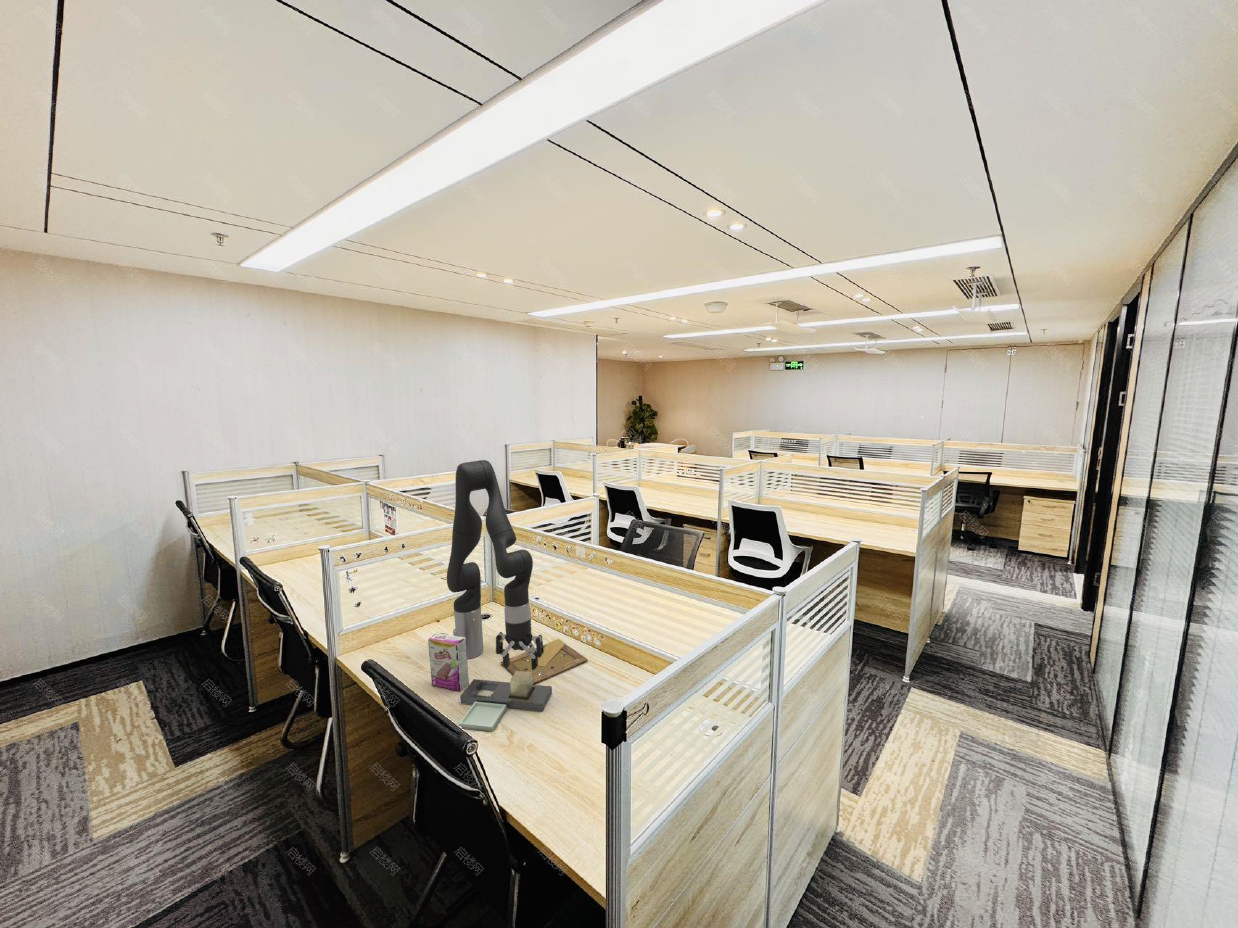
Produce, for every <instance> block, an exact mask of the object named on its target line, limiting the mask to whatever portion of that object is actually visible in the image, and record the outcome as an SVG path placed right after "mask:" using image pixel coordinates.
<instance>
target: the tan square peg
mask: <svg viewBox="0 0 1238 928" xmlns="http://www.w3.org/2000/svg"><path fill="white" fill-rule="evenodd" d="M509 682H510V687H511V698H514V699H524V700H528V699H529V698H530V696H531V694H532V693H533V686H532V672H524V671H516V672H515V674H514V675H512V676H511V678H510V679H509Z"/></svg>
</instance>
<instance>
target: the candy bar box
mask: <svg viewBox="0 0 1238 928" xmlns="http://www.w3.org/2000/svg"><path fill="white" fill-rule="evenodd" d="M427 642H428V644H427V645H428V654H429V663H430V665H429V666H430V677H431V678H430V679H431V686H432V687H433V686H434V687H438V688H442V689H446V690H451V691H456V692H462V691H463V690H464V689H466V688H467V687H468V686H469V684H470V681H469V669H468V668H469V667H468V659H467V650H466V638H465V637H460V636H454V635H453V634H448V633H443V632H436V633H435V634H433V635H432V636H430V637H429V638H428V639H427Z"/></svg>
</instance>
